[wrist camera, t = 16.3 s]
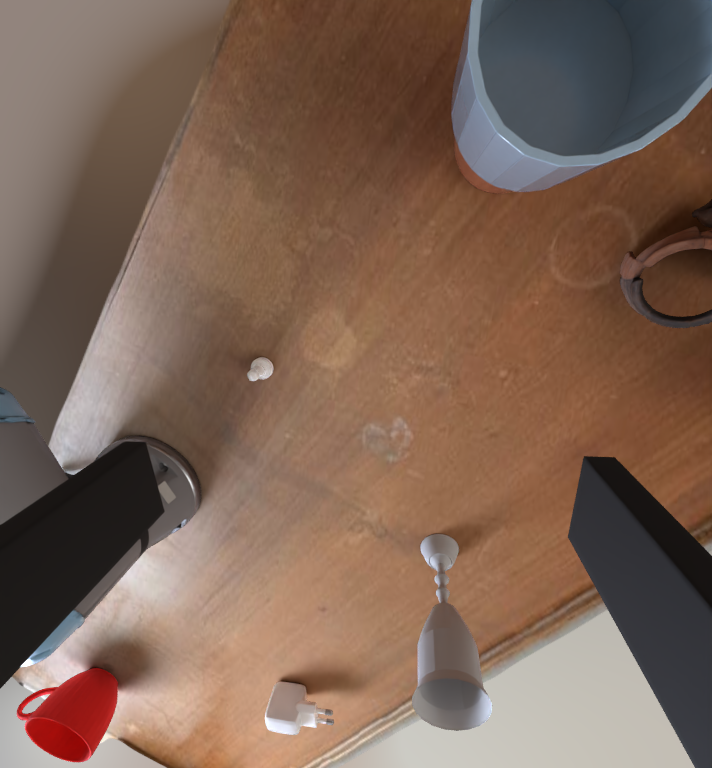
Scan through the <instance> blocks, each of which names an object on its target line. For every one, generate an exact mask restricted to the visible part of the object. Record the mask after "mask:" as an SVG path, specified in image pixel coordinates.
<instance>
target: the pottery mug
mask: <svg viewBox="0 0 712 768" xmlns="http://www.w3.org/2000/svg"><path fill="white" fill-rule="evenodd" d="M692 216H693V217H697V219H698V220H699V221H700V222H701V224H703V225H704V226H706V227H711V228H712V199H711V201H710V202H708V203H707V204H706V205H704V206H702V207H701V208H699V209H697V210H695V211H694V212H693V213H692ZM700 248H704V249H710V250H712V229H710V230H708V231H705V232H700V231H699V230H698V228H697V226H695V227H691V228H688V229H685V230H683V231H680V232H678V233H675V234H672V235H670V236H668V237H666V238H664V239H662V240H660V241H659V242H657V243H655V244H653V245H651V246H650V247H648V248H647V249H645V250H644V251H643V252H642V253H641V254H640V255H638V256H637V258H636V257H634V254H633V252H627V253H626V255H625V257H624V259H623V261H622V264H621V267H620V268H621V270H620V274H621V276H622V277H621V278H620V285H621V288H622V291H623V293H624V296H625V298H626V300H627V301H628V303H629V304H630V306H631V307H632V308H633V309H634V310H635V311H636V312H637V313H639V314H641V315H643V316H645V317H646V318H647V319H648V320H650V321H651V322H654V323H657V324H659V325H662V326H666V327H672V328H689V327H695V326H699V325H703V324H709V323H710V322H712V310H710V311H707V312H705V313H702V314H699V315H695V316H687V317H676V316H669V315H665V314H662V313H660V312H658V311H656V310H655V309H653V308H652V307H651V306H650V305H649V304H648V303H647V301H646V300H645V298H644V296H643V291H642V285H643V279H641V278H640V275H641V273H642V271H643V269H644V268H645V267H646V266H647V267H652V266H654V265H655V264H656V263H657V262H659V261H660V260H662V259H663V258H665V257H666V256H668V255H670V254H673V253H676V252H679V251H683V250H688V249H700Z"/></svg>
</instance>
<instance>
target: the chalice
mask: <svg viewBox="0 0 712 768" xmlns="http://www.w3.org/2000/svg"><path fill="white" fill-rule="evenodd" d="M420 547H421V552H422V555H423V556H424V558H425V560H426V562H427V564H428V565H429V566H430V567H431V568H433V569H435V570H437V571H438V573H437V575H436V576H435V582H436V583H437V584H438V586H439V587H438V590H437V591H436V595H437V596H438V598H439V601H440V603H439V604H437V605H435V606H434V607H433V608H432V610H431V612H430V614H429V616H428V618H427V620H426V622H425V625H424V627H423V629H422V632H421V636H420V639H419V642H418V686H417V688H416V690H415V693H414V695H413V697H412V705H413V708H414V710H415V712H416V713H417V714H418V715H419V716H420V717H421V718H422V719H423V720H424V721H426V722H428V723H429V724H431V725H433V726H436V727H439V728H442V729H446V730H456V731H458V730H468V729H472V728H474V727H477V726H480V725H481V724H482V723H484V722H485V721H487V719H488V718H489V716H490V715H491V712H492V704H491V701H490V698H489V696H488V695H487V693H486V691H485V690H484V688H483V682H482V675H481V668H480V662H479V655H478V649H477V646H476V643H475V641H474V639H473V637H472V635H471V633H470V631H469V628H468V626H467V625H466V623H465V622H464V620H463V619H462V617H461V616H460V614H459V613H458V611H457V610H456V608H455V607H454V606H452V605H451V604H448V603H447V600H448V596H449V595H450V592H449V590H448V589H447V588H446V584H447V583H448V582H449V577H448V576H447V575H446V574H445V571H446V570H448V569H450V568H451V567H452V566H453V565H454V563H455V560H456V557H457V555H458V553H459V547H458V544H457V542H456V541H455V540H454V539H453V538H451V537H449V536H447V535H443V534H434V535H430V536H428V537H426V538H425V539H424V540H423V541H422V543H421V546H420Z"/></svg>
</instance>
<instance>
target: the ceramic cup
mask: <svg viewBox="0 0 712 768" xmlns="http://www.w3.org/2000/svg"><path fill="white" fill-rule="evenodd" d="M117 687H118V682H117V680H116V678H115V677H114V676H113V675H112V674H111V673H109V672H108V671H106V670H103V669H100V668H91V669H89V670H87V671H85V672H82V673H80V674H77V675H76V676H74V677H72V678H70V679H69V680H67V681H66V682H64V683H63V684H62V685H60V686H59V687H53V688H46V689H42V690H39V691H37V692H35V693H33V694H32V695H30V696H29V697H27V698H26V699H25V700H24V701H23V702H22V703H21V704H20V705H19V707H18V709H17V716H18V718H19V719H21V720H27V721H26V723H25V730H26V733H27V734H28V736H29V737H30V738H31V740H32V741H33V742H34V743H35V744H36V745H37V746H39V747H40V748H41V749H43V750H44V751H46V752H48V753H49V754H51V755H53V756H55V757H57V758H60V759H63V760H66V761H70V762H84V761H86V760H88V759H89V758H90V757H91V756H92V755H93V753H94V751H95V750H96V748H97V746H98V745H99V743H100V741H101V739H102V738H103V736H104V734H105V732H106V730H107V728H108V726H109V724H110V722H111V719H112V717H113V714H114V711H115V708H116V704H117V692H118V690H117ZM46 694H50V695H49V697H48V698H47V699H46V700H45V701H44V702H43V703H42V704H41V705H40V706H39V707H38V708H37V709H36V711H34V712H32V713H28V714H23V713H22V710H23V708H24V707H25V706H26V705H27V704H28V703H29V702H30V701H32V700H33V699H35V698H37V697H39V696H42V695H46Z"/></svg>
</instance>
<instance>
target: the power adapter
mask: <svg viewBox="0 0 712 768" xmlns="http://www.w3.org/2000/svg"><path fill="white" fill-rule="evenodd" d="M318 714H325V715H330V716H331V715H332V714H333V711H332V710H328V709H320V708H318V707H317V702H310V701H307V692H306V687H305V686H304V685H301V684H295V683H288V682H277V683H276V684H275V685H274V688H273V691H272V694H271V697H270V700H269V703H268V706H267V709H266V713H265V722H266V726H267V729H268V730H270V731H273V732H278V733H284V734H290V735H296V734H298V733H299V731H300V729H301V725H302V726H308V727H314V728H316V727H317V724H318V723H324V724H328V725H333V724H334V720H333V719H325V718H320V717H318Z"/></svg>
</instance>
